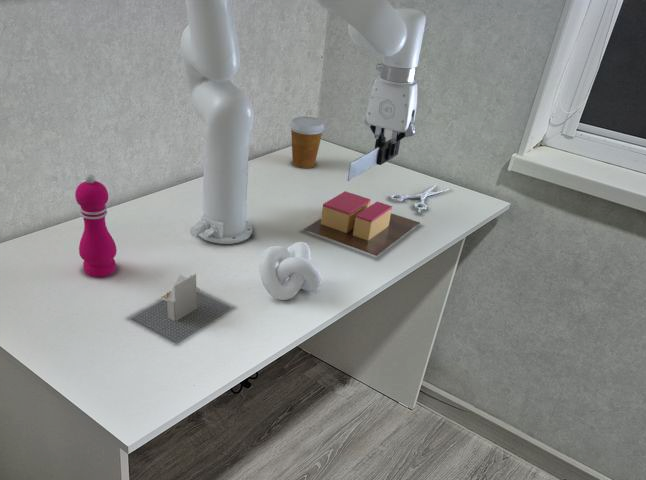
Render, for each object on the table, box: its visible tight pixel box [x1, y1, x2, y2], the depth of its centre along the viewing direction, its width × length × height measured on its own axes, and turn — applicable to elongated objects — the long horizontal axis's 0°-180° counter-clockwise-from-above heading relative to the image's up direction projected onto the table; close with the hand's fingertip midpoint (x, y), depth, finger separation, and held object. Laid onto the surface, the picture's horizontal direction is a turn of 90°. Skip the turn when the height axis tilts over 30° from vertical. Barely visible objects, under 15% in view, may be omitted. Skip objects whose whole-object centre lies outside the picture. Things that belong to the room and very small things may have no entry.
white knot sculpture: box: [259, 241, 322, 301], centre depth 124 cm, size 11×12×9 cm
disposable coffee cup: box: [289, 116, 326, 169], centre depth 179 cm, size 10×10×12 cm
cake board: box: [303, 212, 421, 257], centre depth 151 cm, size 22×19×1 cm
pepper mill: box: [74, 173, 117, 278], centre depth 124 cm, size 7×7×20 cm
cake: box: [320, 191, 372, 233], centre depth 150 cm, size 10×7×5 cm
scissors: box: [389, 184, 450, 213], centre depth 167 cm, size 11×1×20 cm
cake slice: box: [353, 201, 393, 241], centre depth 147 cm, size 10×4×5 cm, turn 143°
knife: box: [347, 138, 401, 182], centre depth 145 cm, size 22×2×4 cm, turn 144°
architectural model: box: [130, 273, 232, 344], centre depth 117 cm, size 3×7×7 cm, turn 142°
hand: (384, 156), depth 150 cm, fingers closed on knife, 2 cm apart
